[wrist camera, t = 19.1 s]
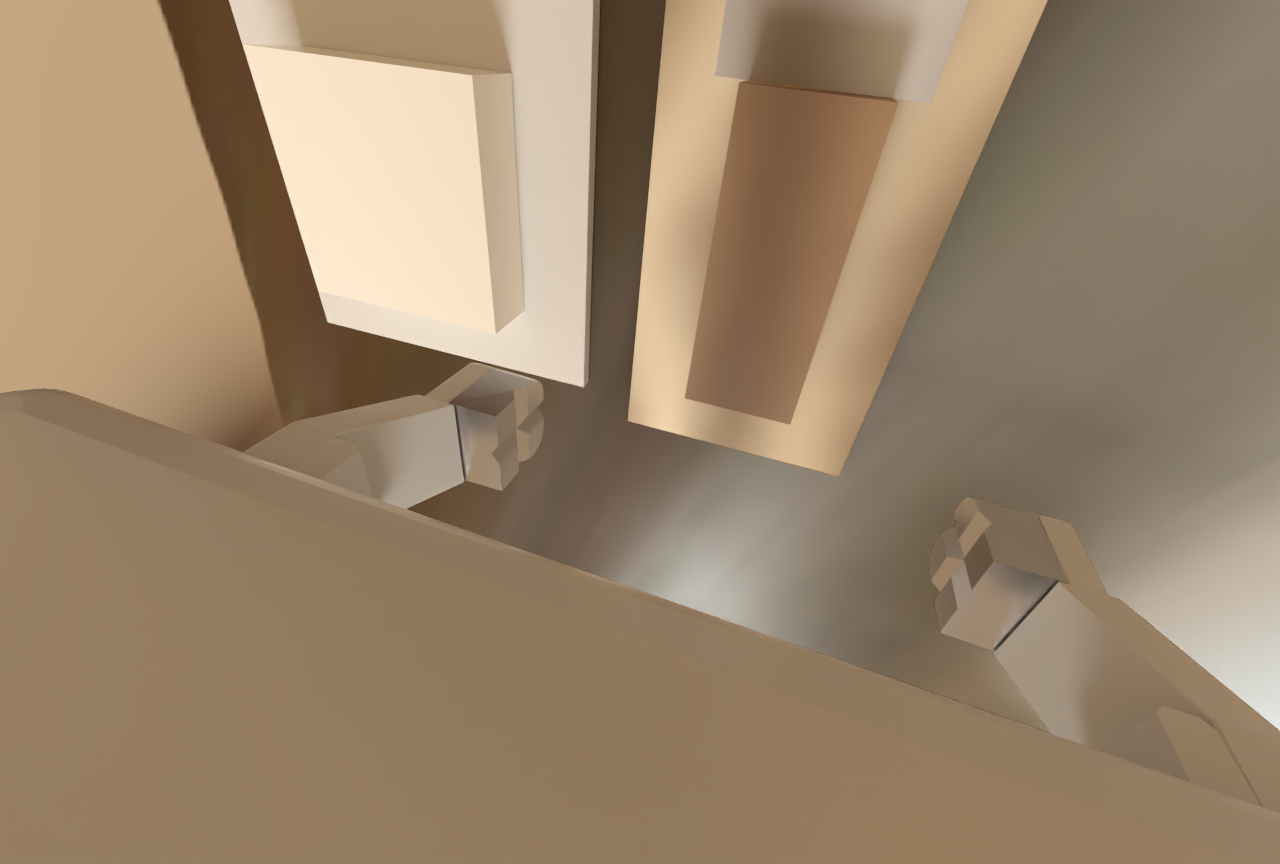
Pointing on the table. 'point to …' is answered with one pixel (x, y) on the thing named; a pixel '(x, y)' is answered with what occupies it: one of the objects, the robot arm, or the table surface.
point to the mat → (544, 142)
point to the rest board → (878, 255)
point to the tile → (399, 179)
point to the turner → (800, 177)
